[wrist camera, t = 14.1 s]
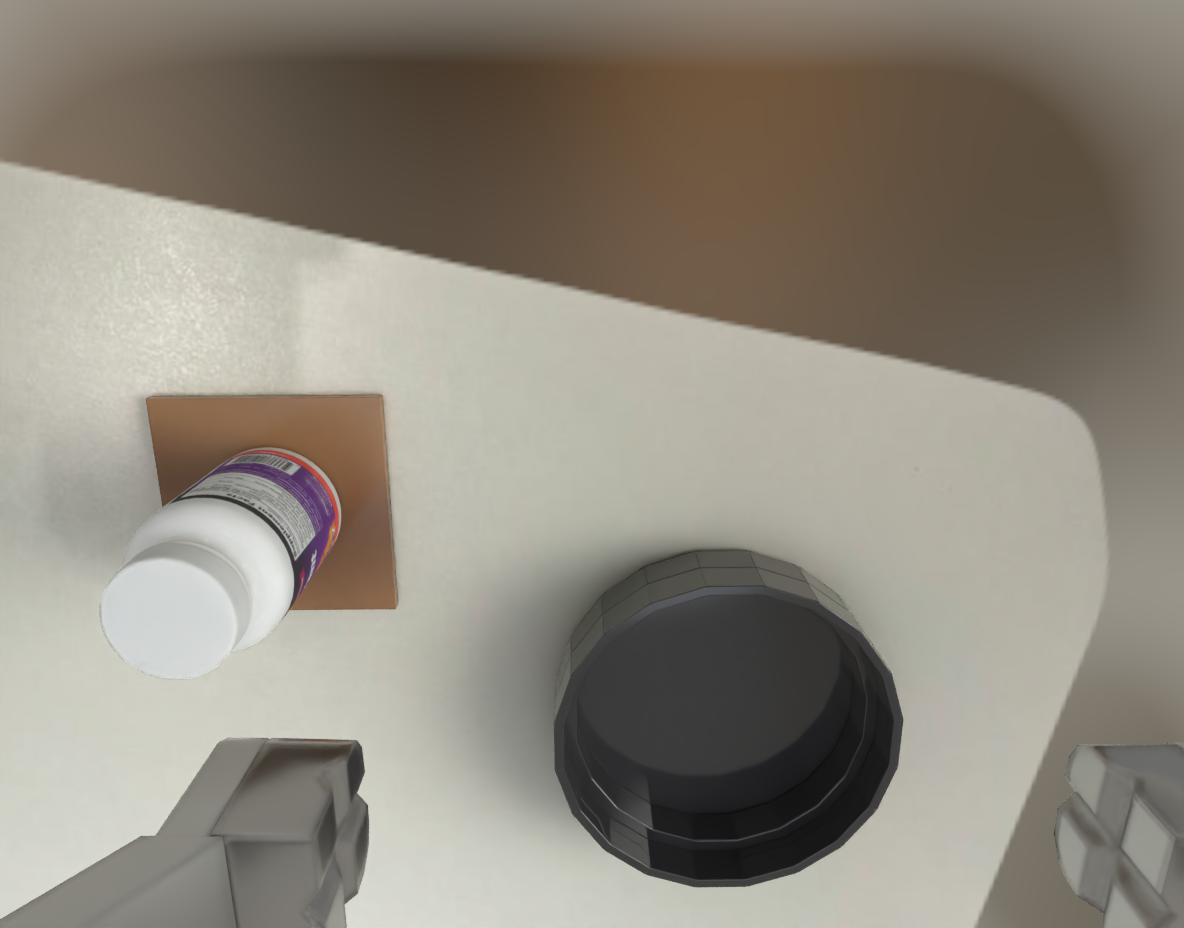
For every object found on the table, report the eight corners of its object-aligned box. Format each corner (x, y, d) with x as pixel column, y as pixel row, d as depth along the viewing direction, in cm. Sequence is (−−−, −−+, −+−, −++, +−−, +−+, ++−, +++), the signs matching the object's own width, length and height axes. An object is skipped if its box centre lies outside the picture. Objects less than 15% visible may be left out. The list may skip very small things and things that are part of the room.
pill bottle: (276, 595, 36) (169, 733, 26) (180, 499, 34) (32, 609, 25) (373, 518, 35) (298, 633, 26) (278, 416, 34) (163, 498, 24)
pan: (554, 549, 36) (551, 587, 32) (885, 547, 36) (919, 584, 33) (558, 828, 40) (556, 889, 36) (857, 825, 40) (884, 885, 36)
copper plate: (151, 395, 34) (145, 398, 33) (382, 394, 34) (379, 397, 33) (183, 606, 36) (178, 611, 36) (398, 604, 36) (395, 609, 36)
